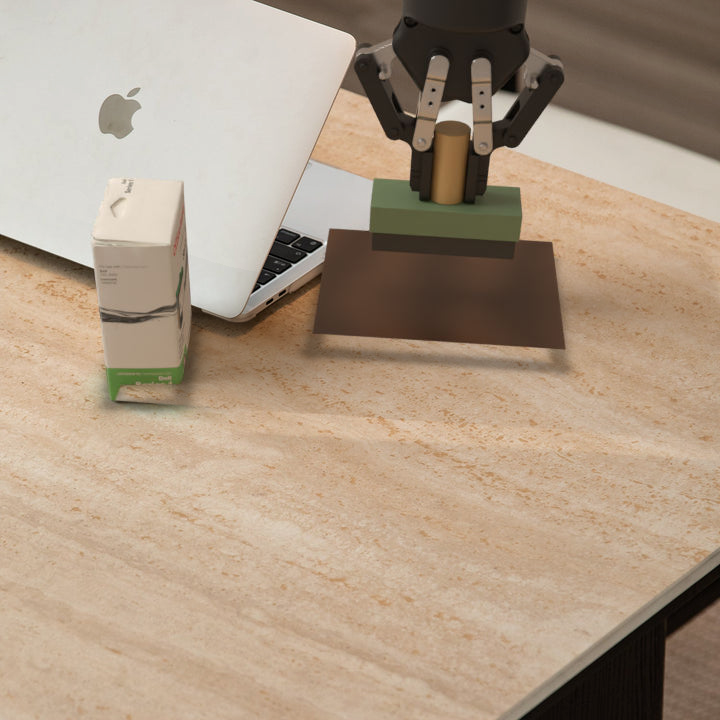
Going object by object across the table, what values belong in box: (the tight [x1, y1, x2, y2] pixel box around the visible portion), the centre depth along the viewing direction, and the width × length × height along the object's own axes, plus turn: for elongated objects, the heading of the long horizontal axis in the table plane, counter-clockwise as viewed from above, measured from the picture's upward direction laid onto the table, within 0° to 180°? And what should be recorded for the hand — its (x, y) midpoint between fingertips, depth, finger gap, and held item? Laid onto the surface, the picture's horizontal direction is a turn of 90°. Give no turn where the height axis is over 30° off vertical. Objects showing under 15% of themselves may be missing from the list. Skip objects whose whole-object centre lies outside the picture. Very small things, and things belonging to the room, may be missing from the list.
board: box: [312, 227, 566, 350], centre depth 89 cm, size 17×14×2 cm
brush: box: [368, 119, 523, 259], centre depth 83 cm, size 10×4×8 cm, turn 86°
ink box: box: [90, 176, 193, 402], centre depth 79 cm, size 9×5×12 cm, turn 1°
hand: (447, 195), depth 83 cm, fingers closed on brush, 2 cm apart
